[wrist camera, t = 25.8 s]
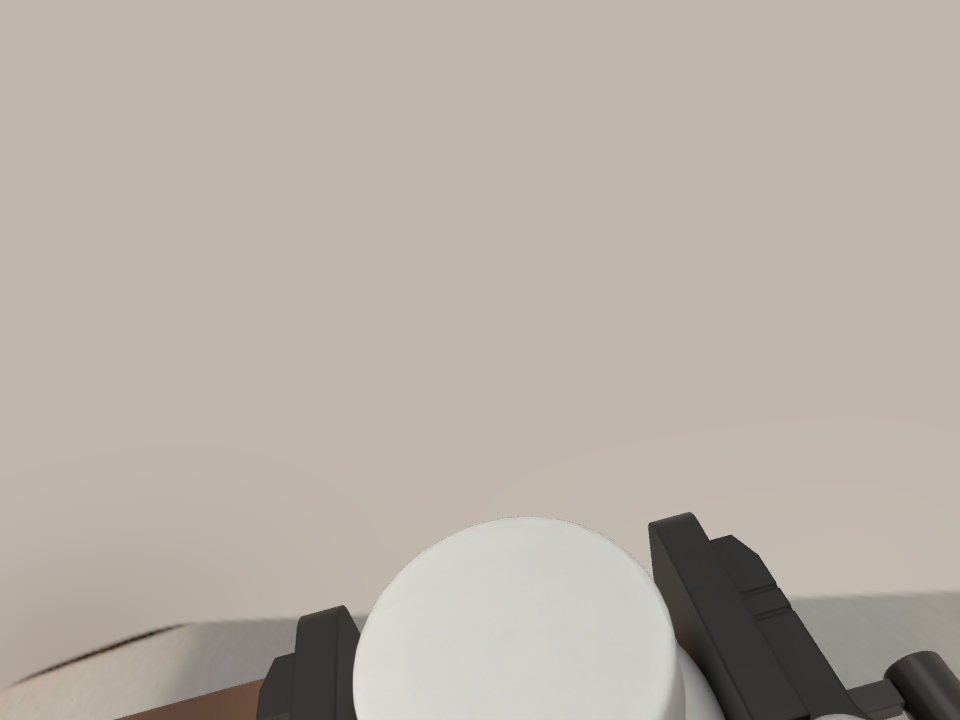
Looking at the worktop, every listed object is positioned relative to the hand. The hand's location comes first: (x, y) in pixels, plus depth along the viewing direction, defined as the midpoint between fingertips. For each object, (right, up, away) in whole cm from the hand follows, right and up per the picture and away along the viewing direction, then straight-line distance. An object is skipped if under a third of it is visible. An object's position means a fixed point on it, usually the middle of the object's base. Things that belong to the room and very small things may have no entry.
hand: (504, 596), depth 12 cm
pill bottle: (+2, -7, +2) cm, 8 cm away
